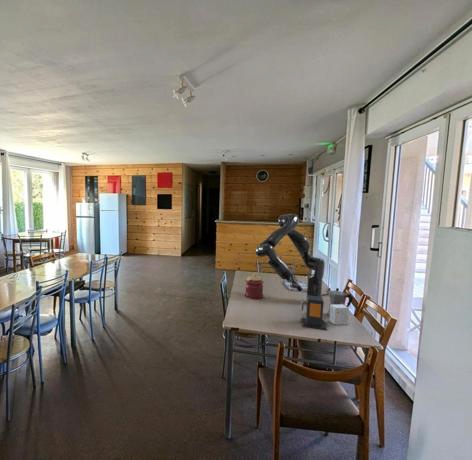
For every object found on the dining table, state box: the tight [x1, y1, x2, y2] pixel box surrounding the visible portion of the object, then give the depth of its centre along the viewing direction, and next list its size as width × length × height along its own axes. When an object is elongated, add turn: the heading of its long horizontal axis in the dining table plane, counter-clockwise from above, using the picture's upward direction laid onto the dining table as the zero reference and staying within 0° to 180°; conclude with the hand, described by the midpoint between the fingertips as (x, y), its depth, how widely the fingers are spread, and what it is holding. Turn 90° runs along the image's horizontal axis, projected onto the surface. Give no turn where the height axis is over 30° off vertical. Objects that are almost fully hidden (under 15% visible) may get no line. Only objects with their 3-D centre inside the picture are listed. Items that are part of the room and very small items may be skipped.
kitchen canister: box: [244, 273, 264, 300], centre depth 221 cm, size 13×13×18 cm
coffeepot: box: [325, 287, 354, 317], centre depth 183 cm, size 15×9×18 cm, turn 43°
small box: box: [329, 303, 349, 326], centre depth 173 cm, size 8×6×10 cm
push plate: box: [300, 298, 305, 312], centre depth 173 cm, size 6×1×5 cm, turn 158°
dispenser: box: [301, 294, 327, 331], centre depth 171 cm, size 12×12×16 cm
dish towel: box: [282, 280, 307, 292], centre depth 247 cm, size 17×24×3 cm
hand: (301, 289), depth 176 cm, fingers closed
